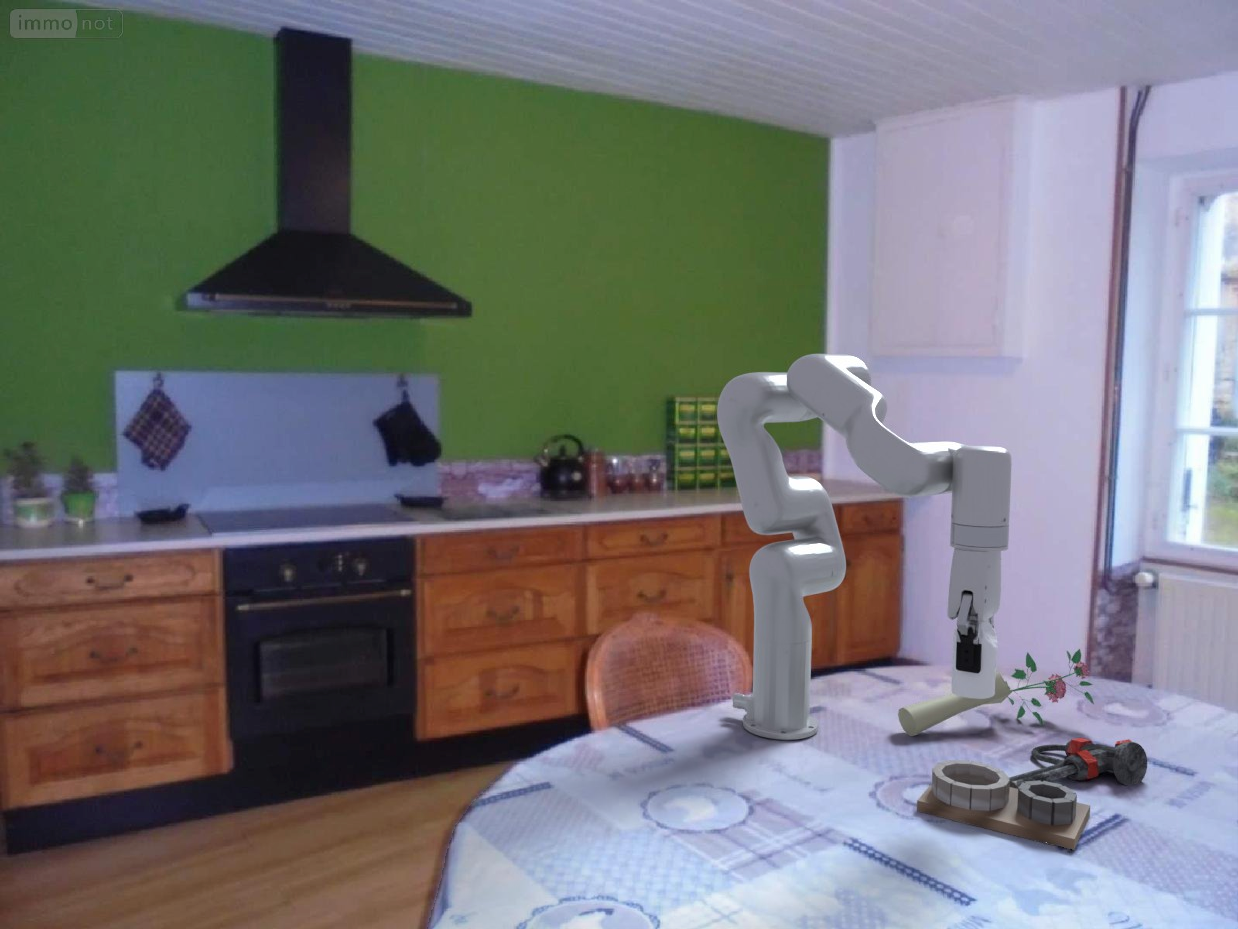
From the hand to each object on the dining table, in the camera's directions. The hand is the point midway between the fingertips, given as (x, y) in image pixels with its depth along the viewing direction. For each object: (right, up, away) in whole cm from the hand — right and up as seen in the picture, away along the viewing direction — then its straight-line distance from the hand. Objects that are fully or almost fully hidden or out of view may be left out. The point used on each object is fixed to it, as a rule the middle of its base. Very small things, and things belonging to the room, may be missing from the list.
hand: (974, 664), depth 141 cm
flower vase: (+15, -17, +33) cm, 40 cm away
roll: (0, -4, 0) cm, 4 cm away
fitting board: (+3, -20, -2) cm, 20 cm away
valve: (+18, -20, +13) cm, 29 cm away
